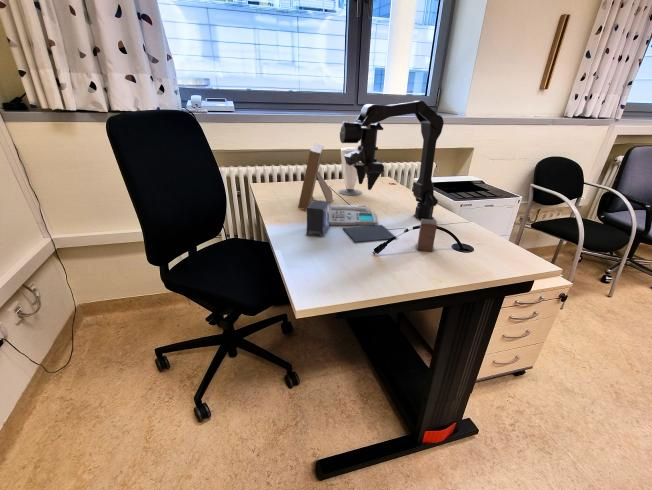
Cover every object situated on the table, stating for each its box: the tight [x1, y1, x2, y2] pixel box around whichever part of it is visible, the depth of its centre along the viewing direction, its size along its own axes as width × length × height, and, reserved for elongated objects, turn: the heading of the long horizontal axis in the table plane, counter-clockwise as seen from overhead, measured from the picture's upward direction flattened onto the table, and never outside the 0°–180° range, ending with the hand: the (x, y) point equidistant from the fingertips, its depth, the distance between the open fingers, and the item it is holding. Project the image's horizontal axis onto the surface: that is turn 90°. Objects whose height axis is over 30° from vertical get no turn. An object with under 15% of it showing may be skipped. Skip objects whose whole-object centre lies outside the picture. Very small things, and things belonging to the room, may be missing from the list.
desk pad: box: [342, 224, 397, 244], centre depth 127 cm, size 16×14×1 cm
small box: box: [306, 199, 330, 237], centre depth 125 cm, size 11×6×10 cm, turn 168°
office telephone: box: [329, 204, 378, 226], centre depth 144 cm, size 23×3×20 cm
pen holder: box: [416, 219, 438, 252], centre depth 114 cm, size 5×5×10 cm
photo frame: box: [297, 143, 334, 211], centre depth 154 cm, size 15×22×25 cm
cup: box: [339, 146, 362, 196], centre depth 173 cm, size 12×12×22 cm
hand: (364, 186), depth 130 cm, fingers open, 9 cm apart
